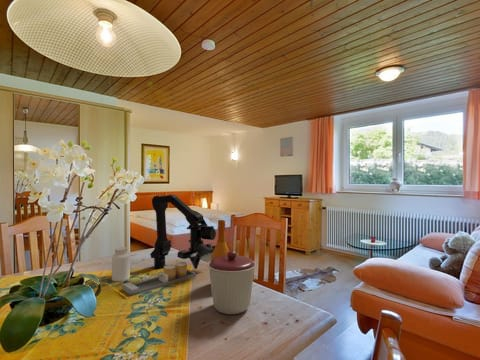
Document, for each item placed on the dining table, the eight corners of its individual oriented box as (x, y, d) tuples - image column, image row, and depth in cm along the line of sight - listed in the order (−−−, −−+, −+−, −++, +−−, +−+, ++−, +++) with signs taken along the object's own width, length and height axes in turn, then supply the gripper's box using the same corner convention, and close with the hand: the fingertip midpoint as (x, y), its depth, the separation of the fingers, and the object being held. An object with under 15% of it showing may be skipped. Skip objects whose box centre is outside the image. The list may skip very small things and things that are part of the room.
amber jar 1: (161, 280, 124) (161, 266, 124) (171, 277, 128) (171, 263, 128) (167, 283, 120) (167, 268, 120) (178, 280, 124) (178, 266, 124)
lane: (122, 290, 113) (122, 283, 113) (185, 273, 136) (185, 267, 136) (131, 297, 106) (131, 290, 106) (196, 277, 129) (196, 271, 129)
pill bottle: (107, 281, 124) (108, 249, 124) (121, 275, 131) (121, 245, 132) (120, 283, 121) (120, 251, 121) (133, 277, 128) (133, 247, 129)
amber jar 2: (172, 276, 128) (173, 263, 129) (182, 274, 132) (182, 260, 133) (179, 279, 125) (179, 265, 125) (189, 276, 129) (189, 263, 129)
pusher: (138, 285, 116) (138, 277, 116) (160, 279, 124) (160, 271, 124) (145, 289, 112) (145, 281, 112) (168, 282, 120) (168, 275, 120)
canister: (263, 316, 91) (263, 255, 92) (212, 323, 86) (212, 259, 87) (247, 295, 109) (247, 244, 109) (203, 300, 104) (204, 247, 104)
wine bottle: (236, 286, 118) (236, 219, 119) (220, 292, 111) (221, 222, 112) (221, 280, 125) (222, 217, 125) (205, 286, 118) (206, 219, 118)
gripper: (190, 243, 123) (189, 277, 123) (219, 237, 136) (219, 268, 136) (176, 240, 130) (176, 271, 130) (206, 234, 144) (206, 263, 144)
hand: (195, 268), depth 135 cm, fingers closed
